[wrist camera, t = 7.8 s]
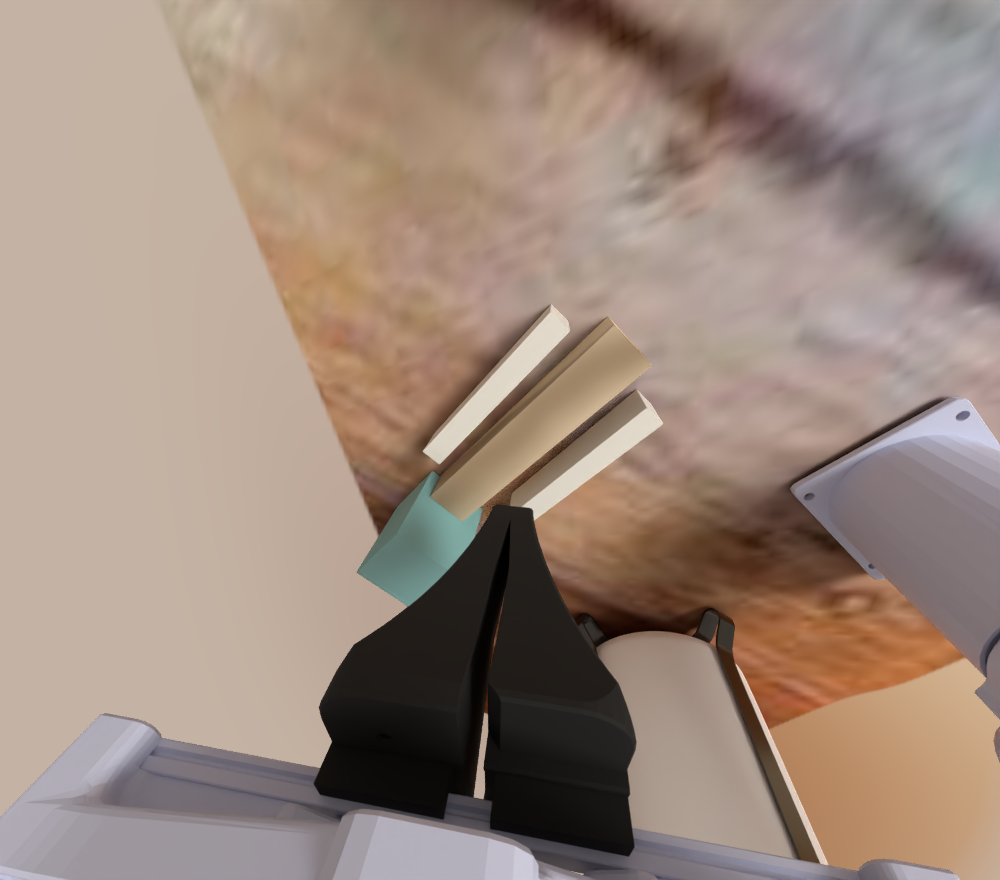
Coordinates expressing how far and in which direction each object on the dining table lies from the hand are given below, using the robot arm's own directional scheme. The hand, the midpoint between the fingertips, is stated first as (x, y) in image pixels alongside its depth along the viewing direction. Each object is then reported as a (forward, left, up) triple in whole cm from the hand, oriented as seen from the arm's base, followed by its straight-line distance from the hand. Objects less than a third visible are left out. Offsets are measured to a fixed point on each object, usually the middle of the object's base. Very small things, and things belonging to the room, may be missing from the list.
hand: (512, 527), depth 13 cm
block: (0, +9, -9) cm, 13 cm away
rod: (0, 0, -9) cm, 9 cm away
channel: (0, 0, -9) cm, 9 cm away
